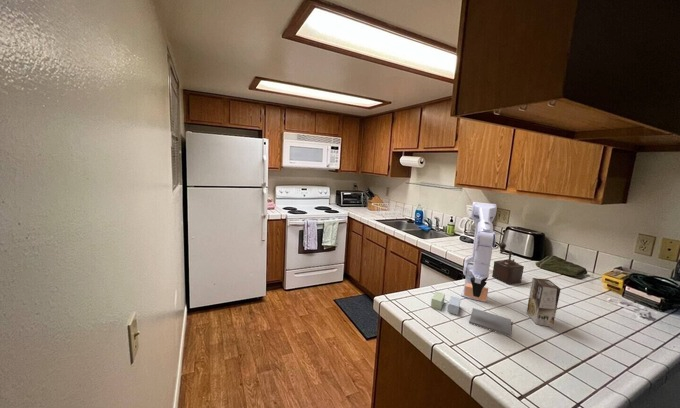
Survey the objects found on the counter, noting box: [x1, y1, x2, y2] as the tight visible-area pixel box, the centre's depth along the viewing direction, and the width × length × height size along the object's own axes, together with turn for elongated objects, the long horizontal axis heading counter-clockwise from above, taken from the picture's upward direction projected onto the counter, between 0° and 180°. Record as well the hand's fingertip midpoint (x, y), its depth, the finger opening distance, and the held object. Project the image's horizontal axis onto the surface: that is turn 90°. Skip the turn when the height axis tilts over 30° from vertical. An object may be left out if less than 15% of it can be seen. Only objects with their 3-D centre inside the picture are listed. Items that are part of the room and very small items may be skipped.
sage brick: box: [430, 291, 446, 311], centre depth 122 cm, size 8×4×4 cm, turn 150°
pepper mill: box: [491, 242, 525, 286], centre depth 155 cm, size 16×11×18 cm
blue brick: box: [447, 295, 462, 316], centre depth 119 cm, size 8×4×4 cm, turn 152°
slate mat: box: [468, 307, 512, 337], centre depth 111 cm, size 12×14×1 cm
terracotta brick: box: [463, 283, 489, 302], centre depth 113 cm, size 8×4×4 cm, turn 58°
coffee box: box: [526, 277, 562, 328], centre depth 114 cm, size 9×6×16 cm
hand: (476, 294), depth 113 cm, fingers closed on terracotta brick, 4 cm apart
